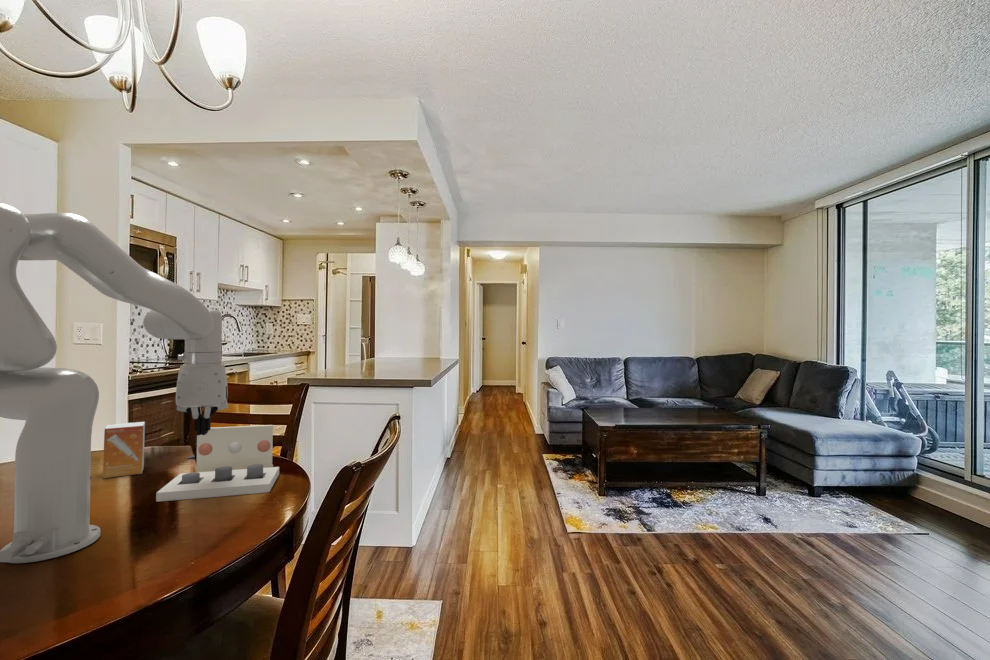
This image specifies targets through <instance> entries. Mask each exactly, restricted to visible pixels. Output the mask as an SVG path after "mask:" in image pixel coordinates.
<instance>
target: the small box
mask: <svg viewBox="0 0 990 660" xmlns="http://www.w3.org/2000/svg"><path fill="white" fill-rule="evenodd" d="M145 430H146V421H136V422H123V423H113V424H106V427H105V428H104V431H103V432H104V436H103V458H102V459H103V460H102V462H103V464H102V466H103V467H102V478H103V479H108V478H116V477H124V476H133V475H134V476H135V475H142V474H143V471H144V468H145V437H146V436H145V435H146V433H145Z"/></svg>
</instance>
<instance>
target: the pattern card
mask: <svg viewBox="0 0 990 660" xmlns="http://www.w3.org/2000/svg"><path fill="white" fill-rule="evenodd" d="M273 433H274V424H267V425H266V424H265V425H263V424H262V425H244V426H243V425H242V426H224V427H223V426H219V427H215V426H214V427H211V428H210V430H209V431H208V433H207V434H205V435H197V434H196V445H197V459H196V463H195V465H196V467H195V468H196V470H195V471H196V472H210V471H215V469H216V468H219V467H224V466H231V467H232V470H239V469H247V467H248V466H250V465H255V464H262V465H263V468H268V467H274V464H273V442H274V441H273V440H274V439H273V438H274V437H273V436H274V434H273Z"/></svg>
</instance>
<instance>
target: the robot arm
mask: <svg viewBox="0 0 990 660" xmlns="http://www.w3.org/2000/svg"><path fill="white" fill-rule="evenodd" d="M19 261H58V262H59V263H61V264H63V265H64V266H65V267H67V268H68V269H69V271H72V272H73V273H75V274H76V275H77V276H78V277H80V278H81V279H83V280H84V281H86V282H87V283H88V285H90V286H91V287H93V288H94V289H96V290H97V291H98V292H100V293H101V294H102V295H104V296H106V297H108V298H111V299H114V300H117V301H119V302H123V303H128V304H131V305H136V306H139V307H143V308H147V309H149V311H148V312H147V313H146V314H145V316H144V317H143V327H144V330H145V331H146V332H147V333H148V334H149V335H151V336H153V337H154V338H157V339H163V340H184V352H183V353H182V354H177V360H178V361H183V364H182V365H180V366H179V370H178V375H177V380H176V387H175V389H176V390H175V405H176V411H178V412H184V413H187V414H189V415H190V416H191V417H192V419H193V420H194V432H196V436H197V435H205V434H207V433H208V431H209V430H210V428H212V427H211V421H212V419H211V418H212V416H213V415H215V413H216V412H218V411H224V410H225V409H226V410H227V409H228V408H229V403H228V399H229V397H228V396H229V395H228V394H229V391H228V389H229V388H228V387H229V386H228V378H227V371H226V367H225V364H224V363H222V349H223V348H222V344H223V343H222V341H223V340H222V339H223V338H222V337H223V335H222V334H223V328H222V327H223V326H222V325H223V315H222V312H221V311H219V310H218V309H212V308H211V309H210V308H207V306H205V305H204V304H203V303H202V302H201V301H200V300H199V298H197V297H196V296H195V295H194V294H193V293H191V292H190V291H189V290H187V289H186V288H184V287H182V286H181V285H179V284H177V283H175V282H174V281H172V280H169V279H168V278H165V277H163V276H162V275H159V274H157V273H155V272H154V271H151V270H149V269H147V268H145V267H143V266H142V265H141V264H140V263H138V262H137V261H136V259H134V258H132V257H131V256H130V255H129V254H128V253H127V252H126V251H125V250H123V248H121V247H120V246H119V245H118V244H117V243H116V242H114V240H113V239H111V238H110V237H109V236H108V235H106V234H105V233H104V232H103V231H101V230H100V228H99V227H97V226H96V225H95V224H93V222H91V220H89V219H87V218H86V217H84V216H81V215H78V214H76V213H71V212H49V213H48V212H46V213H31V214H30V213H23V212H22V211H20V210H19V209H18V208H16V207H14V206H12V205H10V204H7V203H3V202H0V418H3V419H8V420H9V419H10V420H18V421H25V423H24V426H23V428H22V430H21V432H20V435H19V437H18V439H17V443H16V447H15V453H14V456H15V457H14V462H15V463H14V464H15V465H14V467H15V470H14V471H15V472H14V473H15V475H14V513H13V514H14V515H13V516H14V517H13V520H14V521H13V534H12V541H10V542H9V543H8V544H6V545H5V546H3V547H2V548H1V549H0V563H7V564H27V563H28V564H29V563H35V562H40V561H46V560H50V559H55V558H59V557H62V556H65V555H69V554H71V553H75V552H76V551H77V552H78V551H79V550H81V549H84V548H85V547H88V546H89V545H91V544H93V543H94V542H96V541H97V540H98V539H99V538H100V536H101V527H99V526H98V525H94V524H90V523H91V522H90V519H91V518H90V513H91V512H90V511H91V481H90V476H92V475H91V473H92V472H91V470H92V469H91V468H92V467H91V466H92V465H91V464H92V459H91V458H92V453H91V451H92V433H93V432H92V431H93V425H94V419H95V415H96V411H97V408H98V404H99V399H100V391H99V387H98V385H97V383H96V381H95V380H94V379H93V378H92V377H91V376H90V375H88V374H86V373H85V372H83V371H80V370H76V369H72V368H66V367H65V368H64V367H44V366H45V365H47V364H48V363H50V362H51V361H52V360H53V359H54V357H55V356H56V353H57V349H58V347H57V341H56V339H55V336H54V335H53V332H51V331H50V329H49V327H48V326H47V325H46V323H45V322H44V320H43V318H42V317H41V316H40V315H39V313H38V311H37V310H36V309H35V308H34V306H33V304H32V303H31V302H30V300H29V298H27V296H26V294H25V292H24V291H23V289H22V287H21V285H20V283H19V281H18V278H17V267H18V263H19ZM202 407H204V413H203V414H202Z"/></svg>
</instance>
